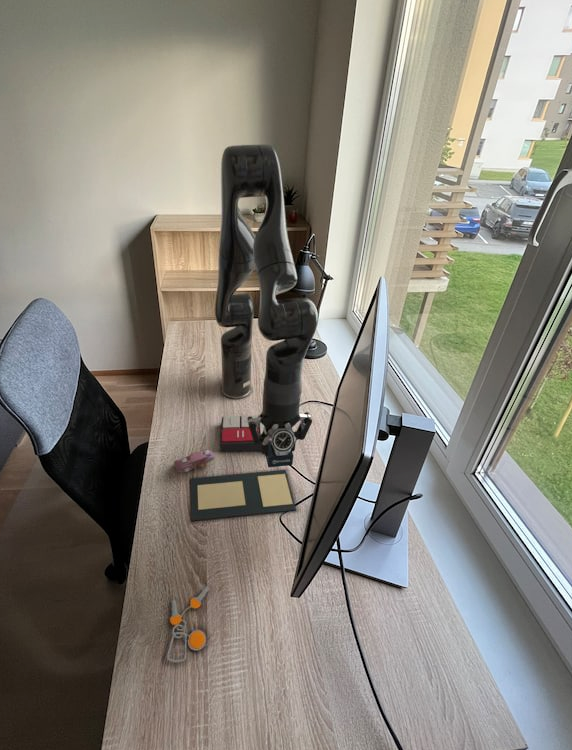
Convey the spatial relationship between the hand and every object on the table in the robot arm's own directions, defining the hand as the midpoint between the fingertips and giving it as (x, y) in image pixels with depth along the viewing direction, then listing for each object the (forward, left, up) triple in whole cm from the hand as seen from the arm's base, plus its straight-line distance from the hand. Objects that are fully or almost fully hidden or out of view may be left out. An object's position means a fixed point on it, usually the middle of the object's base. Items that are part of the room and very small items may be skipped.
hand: (277, 452), depth 90 cm
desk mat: (0, -8, -13) cm, 16 cm away
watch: (0, 0, -3) cm, 3 cm away
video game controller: (-10, -19, -14) cm, 25 cm away
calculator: (-19, -4, -14) cm, 24 cm away
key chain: (+27, -21, -13) cm, 37 cm away
